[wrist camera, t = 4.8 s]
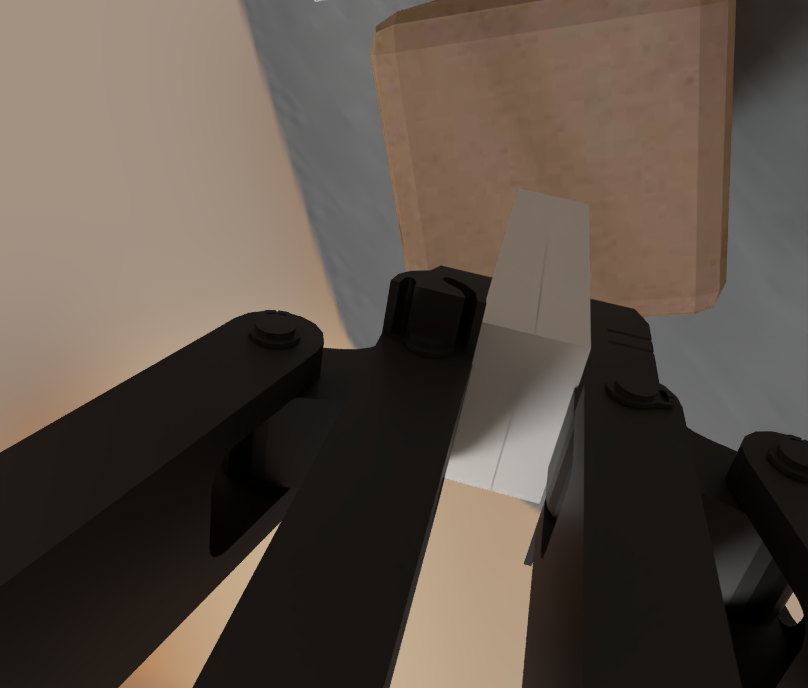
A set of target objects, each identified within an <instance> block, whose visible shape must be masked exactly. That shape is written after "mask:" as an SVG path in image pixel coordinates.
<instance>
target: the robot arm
mask: <svg viewBox="0 0 808 688" xmlns="http://www.w3.org/2000/svg"><path fill="white" fill-rule="evenodd" d="M323 345H324V339H323V332H322V331H321V330H320V329H319V328H318V327H317V325H316V324H314V323H312V322H311V321H309V320H307V319H305V318H303V317H301V316H297V315H294V314H290V313H289V312H284V311H278V312H276V310H265V311H260V312H252V313H247V314H244V315H242V316H239V317H236V318H234V319H232V320H231V321H229V322H227V323H225V324H224V325H222V326H220V327H218V328H217V329H215V330H213V331H212V332H210V333H208V334H206V335H205V336H203V337H201V338H199V339H197V340H196V341H194V342H192V343H191V344H189V345H187V346H185V347H183V348H182V349H180V350H178V351H177V352H175V353H173V354H171V355H170V356H168V357H166V358H165V359H163V360H161V361H159V362H157V363H156V364H154V365H152V366H150V367H149V368H147V369H145V370H143V371H142V372H140V373H138V374H137V375H135V376H133V377H131V378H129V379H128V380H126V381H124V382H123V383H121V384H119V385H117V386H116V387H114V388H112V389H110V390H109V391H107V392H105V393H103V394H102V395H100V396H98V397H96V398H95V399H93V400H91V401H89V402H88V403H86V404H84V405H82V406H81V407H79V408H77V409H75V410H74V411H72V412H70V413H69V414H67V415H65V416H63V417H61V418H60V419H58V420H56V421H54V422H53V423H51V424H49V425H48V426H46V427H44V428H42V429H41V430H39V431H37V432H35V433H34V434H32V435H30V436H28V437H27V438H25V439H23V440H21V441H20V442H18V443H16V444H14V445H13V446H11V447H9V448H7V449H6V450H4V451H2V452H0V688H118V687H119V686H120V685H121V684H122V683H123V682H124V681H125V680H126V679H127V678H128V677H129V676H130V675H131V674H132V673H133V672H134V671H135V670H136V669H137V668H138V667H139V666H140V665H141V664H142V663H143V662H144V661H145V660H146V659H147V658H148V657H149V656H150V655H151V654H152V653H153V652H154V651H155V650H156V648H158V646H159V645H160V644H161V643H162V642H163V641H164V640H165V639H166V638H167V637H168V636H169V635H170V634H171V633H172V632H173V631H174V630H175V629H176V628H177V627H178V626H179V625H180V624H181V623H182V622H183V621H184V620H185V619H186V618H187V617H188V616H189V615H190V614H191V613H192V612H193V611H194V610H195V609H196V608H197V607H198V606H199V605H200V603H201V602H203V600H205V598H206V597H207V596H208V595H209V594H210V593H211V592H212V591H213V590H214V589H215V588H216V587H217V586H218V585H219V584H220V583H221V582H222V581H223V580H224V579H225V578H226V577H227V576H228V575H229V574H230V573H231V572H232V571H233V570H234V569H235V568H236V567H237V566H238V565H239V564H240V563H241V562H242V561H243V560H244V559H245V558H246V557H247V556H248V555H249V553H251V552H252V550H253V549H254V548H255V547H256V546H257V545H258V544H259V543H260V542H261V541H262V540H263V539H264V538H265V537H266V536H267V535H268V534H269V533H270V532H271V531H272V530H273V529H274V528H275V527H276V526H277V525H278V524H279V523H280V522H281V523H280V525H279V527H278V529H277V531H276V533H275V534H274V536H273V538H272V540H271V542H270V544H269V546H268V548H267V549H266V551H265V553H264V555H263V557H262V559H261V561H260V562H259V564H258V566H257V568H256V570H255V572H254V574H253V576H252V577H251V580H250V581H249V583H248V585H247V587H246V589H245V590H244V592H243V594H242V596H241V598H240V600H239V602H238V604H237V605H236V607H235V609H234V611H233V613H232V615H231V617H230V619H229V620H228V622H227V624H226V626H225V628H224V630H223V632H222V634H221V635H220V638H219V639H218V641H217V643H216V645H215V647H214V649H213V650H212V652H211V655H210V656H209V658H208V660H207V662H206V663H205V665H204V667H203V669H202V671H201V673H200V675H199V677H198V678H197V680H196V682H195V684H194V686H193V688H390V684H391V680H392V676H393V673H394V669H395V665H396V661H397V658H398V654H399V650H400V646H401V642H402V639H403V635H404V631H405V627H406V624H407V620H408V616H409V612H410V608H411V604H412V601H413V597H414V593H415V590H416V585H417V582H418V578H419V574H420V570H421V567H422V563H423V559H424V556H425V552H426V548H427V544H428V540H429V537H430V533H431V529H432V525H433V522H434V518H435V514H436V510H437V506H438V502H439V499H440V495H441V490H442V486H443V482H444V478H445V479H449V480H453V481H456V482H461V483H464V484H468V485H471V486H475V487H479V488H482V489H486V490H490V491H493V492H497V493H501V494H505V495H508V496H512V497H516V498H519V499H523V500H527V501H531V502H534V503H538V504H539V503H540V500H541V497H542V494H543V491H544V488H545V485H546V482H547V489H546V499H545V502H544V505H543V508H542V511H541V514H540V517H539V520H538V523H537V526H536V529H535V532H534V535H533V538H532V541H531V544H530V547H529V550H528V553H527V556H526V559H525V561H524V564H526V565H529V566H531V565H532V563H533V570H532V581H531V592H530V604H529V615H528V626H527V637H526V648H525V659H524V670H523V681H522V682H523V683H522V688H808V441H807V440H801V438H799V437H796V436H793V435H785V434H781V433H777V432H772V431H766V432H754V433H751V434H749V435H747V436H745V437H744V439H743V441H742V443H741V445H740V447H739V449H738V452H737V451H735V450H732V449H730V448H728V447H725V446H723V445H721V444H718V443H716V442H714V441H712V440H709V439H707V438H705V437H703V436H701V435H699V434H697V433H695V432H694V431H692V430H691V429H689V428H688V427H687V426H686V422H685V417H684V412H683V408H682V406H681V404H680V402H679V400H678V398H677V397H676V396H675V395H674V394H673V393H672V392H671V391H670V390H669V389H667V388H666V387H665V386H664V385H662V384H660V383H659V379H658V373H657V367H656V362H655V356H654V354H653V352H654V350H653V344H652V342H651V333H650V327H649V324H648V323H647V322H646V321H645V320H644V318H643V317H642V316H641V315H640V314H639V313H638V312H637V311H636V310H635V309H633V308H629V307H624V306H620V305H616V304H612V303H607V302H603V301H599V300H595V299H590V255H589V204H587V203H583V202H578V201H574V200H569V199H565V198H560V197H556V196H551V195H547V194H542V193H538V192H533V191H529V190H524V189H520V188H518V192H517V195H516V198H515V202H514V205H513V209H512V212H511V216H510V219H509V223H508V226H507V229H506V233H505V236H504V240H503V243H502V247H501V250H500V254H499V257H498V261H497V264H496V267H495V271H494V274H493V278H492V277H488V276H484V275H480V274H475V273H471V272H467V271H463V270H459V269H454V268H450V267H446V266H442V265H440V266H438V267H436V268H434V269H432V270H418V271H408V272H404V273H400V274H398V275H397V276H395V277H394V278H393V279H392V280H391V282H390V288H389V295H388V301H387V307H386V313H385V319H384V325H383V331H382V334H381V336H380V338H379V340H378V342H377V344H376V345H375V346H374V347H371V348H364V349H331V348H323ZM793 592H794V594H795V595H796V597H797V599H798V601H799V603H800V605H801V608H802V610H803V614H804V617H803V618H802V620H801V621H800V622H799V623H798V624H797V623H796V622H795V620H794V619H793V618H792V616H791V615H790V613H789V611H788V609H787V608H786V606H785V604H786V603H787V601H788V599H789V598H790V596H791V594H792V593H793Z"/></svg>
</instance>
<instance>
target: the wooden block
mask: <svg viewBox="0 0 808 688" xmlns="http://www.w3.org/2000/svg"><path fill="white" fill-rule="evenodd" d="M735 20H736V0H435V1H432V2H429V3H425V4H422V5H418V6H415V7H412V8H408V9H405V10H401V11H398V12H396V13H395V14H393V15H392V16H390V17H389V18H387V19H386V20H385V21H383V22H382V23H380V24H379V25H377V26H376V27H375V32H374V38H373V43H372V48H371V53H370V55H371V61H372V67H373V73H374V79H375V85H376V91H377V97H378V103H379V109H380V115H381V121H382V127H383V133H384V139H385V145H386V151H387V157H388V163H389V169H390V175H391V181H392V187H393V193H394V199H395V205H396V211H397V217H398V222H399V228H400V234H401V240H402V246H403V252H404V258H405V264H406V270H407V272H408V271H418V270H432V269H434V268H436V267H438V266H440V265H442V266H446V267H450V268H454V269H459V270H463V271H467V272H471V273H475V274H480V275H484V276H488V277H492V278H493V274H494V271H495V267H496V264H497V261H498V257H499V254H500V250H501V247H502V243H503V240H504V236H505V233H506V229H507V226H508V223H509V219H510V216H511V212H512V209H513V205H514V202H515V198H516V195H517V192H518V188H520V189H524V190H529V191H533V192H538V193H542V194H547V195H551V196H556V197H560V198H565V199H569V200H574V201H578V202H583V203H587V204H589V255H590V299H595V300H599V301H603V302H607V303H612V304H616V305H620V306H624V307H629V308H633V309H635V310H636V311H637V312H638V313H639V314H640V315H641V316H642V317H645V316H665V315H685V314H696V313H699V312H701V311H704V310H707V309H710V308H713V307H714V305H715V303H716V301H717V299H718V297H719V295H720V293H721V291H722V289H723V287H724V285H725V283H726V269H727V241H728V214H729V186H730V158H731V131H732V103H733V75H734V47H735Z"/></svg>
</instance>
